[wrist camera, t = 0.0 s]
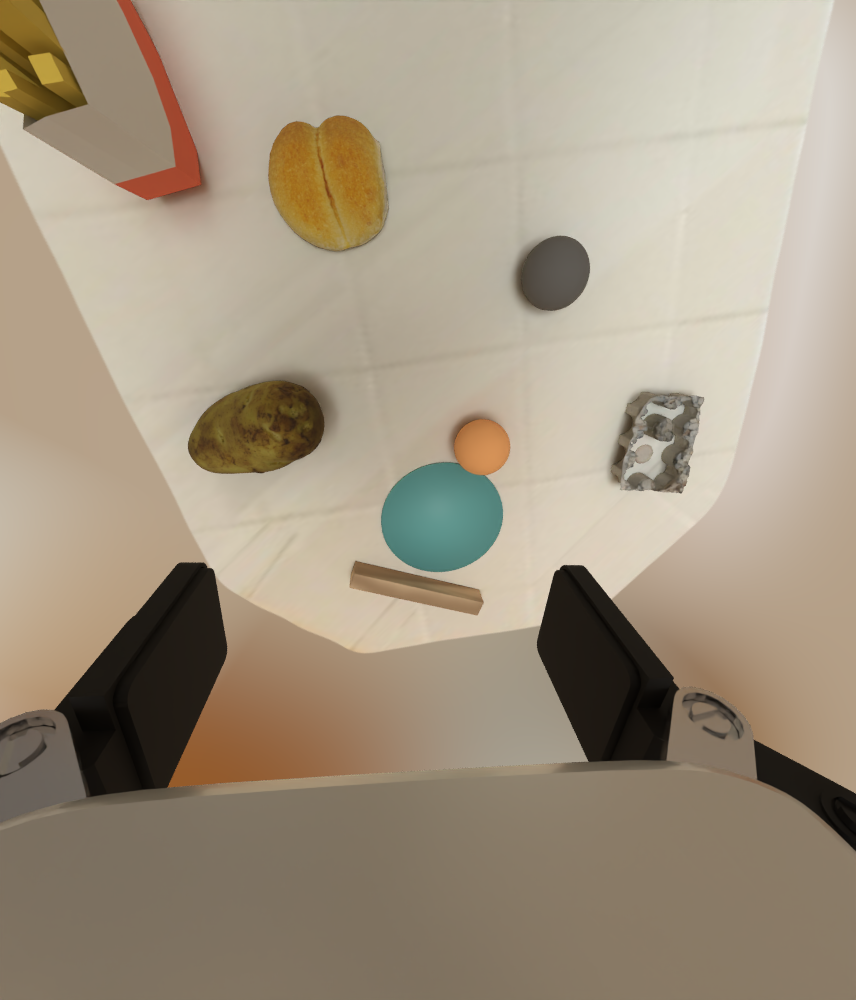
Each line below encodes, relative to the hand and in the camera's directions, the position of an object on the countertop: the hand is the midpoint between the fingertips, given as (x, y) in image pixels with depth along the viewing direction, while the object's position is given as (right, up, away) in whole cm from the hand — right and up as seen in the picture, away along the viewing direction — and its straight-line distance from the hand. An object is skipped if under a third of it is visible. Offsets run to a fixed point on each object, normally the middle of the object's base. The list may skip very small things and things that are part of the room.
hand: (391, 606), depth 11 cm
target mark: (+3, +1, +35) cm, 35 cm away
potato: (-15, +11, +28) cm, 34 cm away
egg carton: (+25, +10, +33) cm, 43 cm away
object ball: (+6, +8, +28) cm, 30 cm away
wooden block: (0, -7, +38) cm, 39 cm away
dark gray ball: (+12, +22, +23) cm, 34 cm away
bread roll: (-7, +28, +21) cm, 36 cm away
